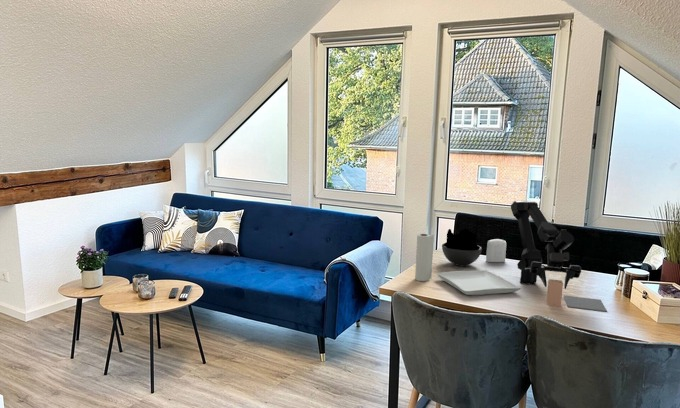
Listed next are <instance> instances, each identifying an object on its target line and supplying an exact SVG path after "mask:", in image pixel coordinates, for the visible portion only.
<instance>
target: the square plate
mask: <svg viewBox="0 0 680 408" xmlns="http://www.w3.org/2000/svg"><path fill="white" fill-rule="evenodd" d="M435 274H436V275H437V277H439V278H440V279H441V280H442V281H444V282H445V283H447V284H449V285H450V286H452V287H453V288H455V289H457V290H458V291H460V292H461V293H463V294H464V295H468V296H482V295H495V294H509V293H514V292H515V293H516V292H518V291H520V290H521V289H522V288H521V287H520V286H519V285H516V284H514V283H513V282H511V281H509V280H507V279H505V278H504V277H502V276H500V275H497V274H495V273H493V272H491V271H489V270H487V269H486V270H485V269H483V270H482V269H481V270H476V269H475V270H458V271H454V270H453V271H446V272H445V271H443V272H436V273H435Z"/></svg>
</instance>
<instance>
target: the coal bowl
mask: <svg viewBox="0 0 680 408" xmlns="http://www.w3.org/2000/svg"><path fill="white" fill-rule="evenodd" d="M476 238H477V235H476V233H474V232H472V230H471V231H470V230H469V229H468V228H463V229H462V230H459V233H458V234H457V233H456V234H454V233H453V232H452V229H451V228H449V229H448V230H447V232H446V242H445V243H443V244H442V245H441V249H442V252H443V255H444V257H445V258H446V260H448V261H449V262H450V263H452V264H454V265H456V266H462V267H464V266H469V265H471V264H473V263H474V262H476V261H477V260H478V259H479V258H480V255H481V254H482V251H483V249H482V246H480V245H478V244H477V240H476Z"/></svg>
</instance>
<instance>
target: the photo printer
mask: <svg viewBox="0 0 680 408" xmlns="http://www.w3.org/2000/svg"><path fill="white" fill-rule="evenodd" d="M506 251H507V242H506V240H504V239H500V238H494V239H490V240H487V245H486V256H485V261H486V262H487V263H505V262H506V255H507V253H506Z"/></svg>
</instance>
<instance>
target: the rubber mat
mask: <svg viewBox="0 0 680 408" xmlns="http://www.w3.org/2000/svg"><path fill="white" fill-rule="evenodd" d="M563 297H564V300H565V303H566V307H567V308H570V309H571V308H572V309H580V310H589V311H596V312H604V313H607V312H608V310H607V308H606V307H605V305H604V303H603V300H602V299H597V298H590V297H580V296H575V295H574V296H572V295H565V294H564V295H563Z"/></svg>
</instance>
